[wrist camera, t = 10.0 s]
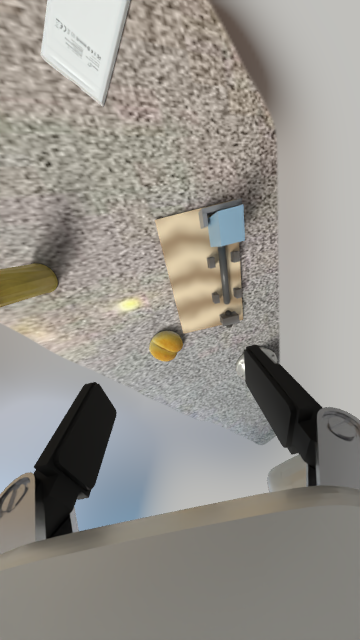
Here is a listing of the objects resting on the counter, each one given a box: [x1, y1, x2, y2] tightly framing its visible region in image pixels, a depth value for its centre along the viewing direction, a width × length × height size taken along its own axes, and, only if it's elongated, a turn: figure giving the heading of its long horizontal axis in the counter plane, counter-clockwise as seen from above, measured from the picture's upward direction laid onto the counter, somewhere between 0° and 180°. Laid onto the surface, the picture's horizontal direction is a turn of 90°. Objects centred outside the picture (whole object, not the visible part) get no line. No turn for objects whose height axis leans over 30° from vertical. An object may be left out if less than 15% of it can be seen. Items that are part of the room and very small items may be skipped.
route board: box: [155, 199, 243, 334], centre depth 34 cm, size 27×16×3 cm, turn 13°
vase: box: [0, 263, 58, 307], centre depth 26 cm, size 6×6×14 cm
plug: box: [208, 205, 245, 305], centre depth 30 cm, size 18×4×7 cm, turn 13°
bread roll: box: [149, 331, 183, 361], centre depth 40 cm, size 8×9×4 cm
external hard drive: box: [41, 0, 130, 107], centre depth 20 cm, size 2×8×12 cm
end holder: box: [198, 198, 242, 229], centre depth 28 cm, size 3×7×3 cm, turn 103°
